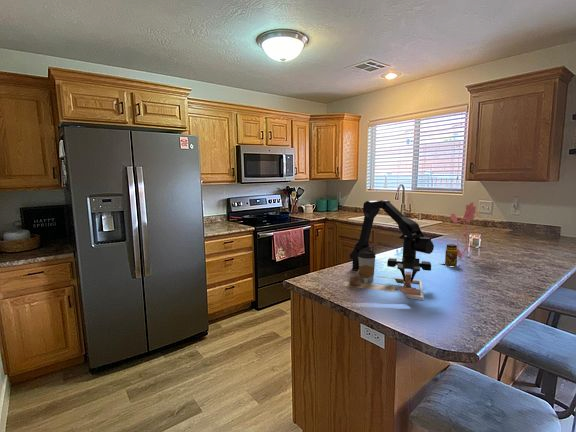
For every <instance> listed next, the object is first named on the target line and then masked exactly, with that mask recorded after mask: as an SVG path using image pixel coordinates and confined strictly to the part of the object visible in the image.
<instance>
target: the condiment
mask: <svg viewBox="0 0 576 432" xmlns="http://www.w3.org/2000/svg"><path fill="white" fill-rule="evenodd" d="M457 249H458V244H453V243H451V244H446V248H445V259H444V260H445V261H444V263H445V265H447V266H446V267H448V266H457V265H458V256H457V253H458V251H457ZM445 265H444V266H445ZM457 267H458V266H457Z"/></svg>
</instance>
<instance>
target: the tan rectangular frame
mask: <svg viewBox="0 0 576 432" xmlns="http://www.w3.org/2000/svg"><path fill="white" fill-rule="evenodd" d="M355 274H359V270H358V271H357V270H356V273H355ZM411 276H412V271H406V270H405V282H404V279H403V278H402V279H399V278H400V277H392V279H393V280H395V282H402V283H403V285H397V284H392V287H399V288H400V287H403V288H412V286H411V285H412V283H411ZM374 277H375V278H380V276H379V275H374ZM374 277H373V278H374ZM382 278H386V279H390V277H388V276H382ZM360 283H364V280H360ZM368 284H373V282H371V281H368ZM374 285H382V283H379V282H374ZM383 286H391V284H389V283H387V284H386V283H383Z"/></svg>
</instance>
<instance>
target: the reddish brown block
mask: <svg viewBox="0 0 576 432" xmlns="http://www.w3.org/2000/svg"><path fill="white" fill-rule="evenodd" d="M417 289H418V288H416V287H411V288H409V287H406V288H400V287H399V288H398V290H399V291H400V292H401V293H403V294H404V295H405V294H410V295H418V296H420V292H419V291H418V290H417Z"/></svg>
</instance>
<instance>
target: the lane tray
mask: <svg viewBox="0 0 576 432" xmlns="http://www.w3.org/2000/svg"><path fill="white" fill-rule="evenodd" d="M398 278H399V279H403V277H401V278H400V277H398ZM368 282H369V281H368V278H364V280H363V284H369V283H368ZM412 283H414V284H419V289H418V288H416V289H417V290H418V291H419V292H420V294H419V296H418V295H410V294H405V293H404V295H405V296H406V298H407V299H415V300H420V301H423V300H424V292H423V291H424V290H423V281H422V279H413V281H412ZM412 283H411V284H412ZM399 288H403V287H400V286H399Z"/></svg>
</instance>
